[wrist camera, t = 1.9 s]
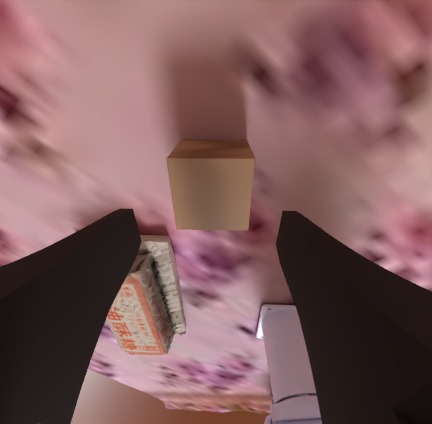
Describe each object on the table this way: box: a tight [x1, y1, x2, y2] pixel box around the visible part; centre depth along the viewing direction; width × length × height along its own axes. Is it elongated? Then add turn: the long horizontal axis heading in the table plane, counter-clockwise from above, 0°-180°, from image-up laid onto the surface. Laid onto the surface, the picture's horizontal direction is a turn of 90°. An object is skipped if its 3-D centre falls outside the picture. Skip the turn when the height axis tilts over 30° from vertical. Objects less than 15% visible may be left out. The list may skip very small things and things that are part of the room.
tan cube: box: [166, 140, 255, 230], centre depth 14 cm, size 5×5×5 cm
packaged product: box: [106, 235, 186, 355], centre depth 24 cm, size 18×5×10 cm
